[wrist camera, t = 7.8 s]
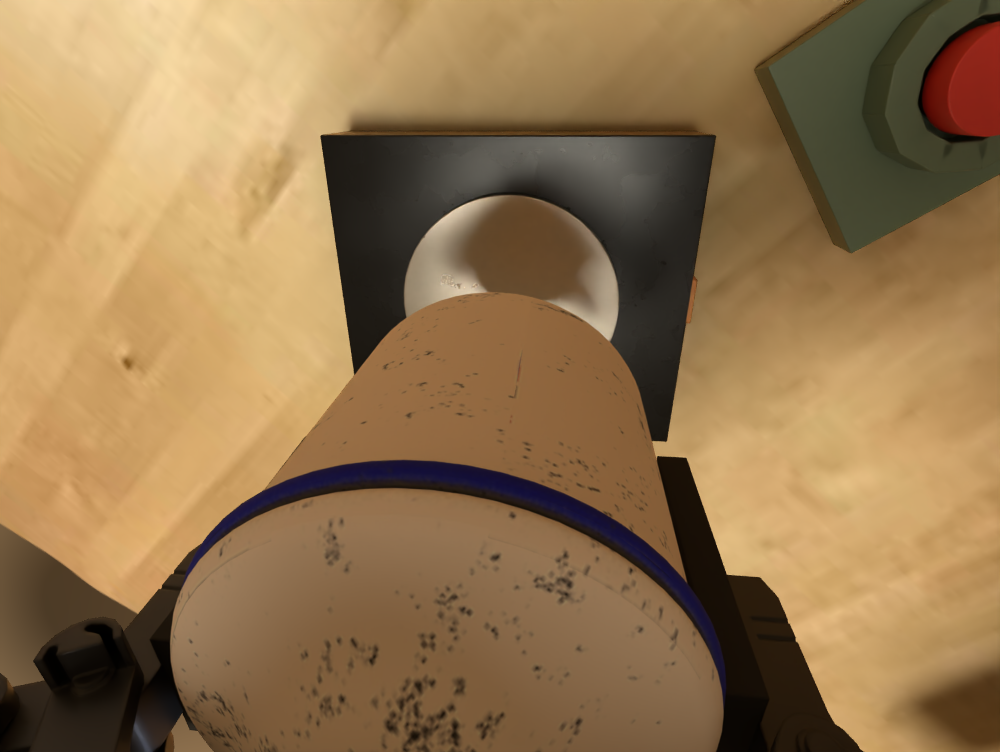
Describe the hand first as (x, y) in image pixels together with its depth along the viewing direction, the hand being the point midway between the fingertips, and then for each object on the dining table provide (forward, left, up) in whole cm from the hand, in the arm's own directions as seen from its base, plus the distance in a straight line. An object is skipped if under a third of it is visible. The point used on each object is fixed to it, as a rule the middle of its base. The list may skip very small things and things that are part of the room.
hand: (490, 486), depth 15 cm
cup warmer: (+1, 0, -18) cm, 18 cm away
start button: (-18, -10, -15) cm, 26 cm away
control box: (-18, -10, -18) cm, 28 cm away
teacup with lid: (-1, 0, -2) cm, 2 cm away
